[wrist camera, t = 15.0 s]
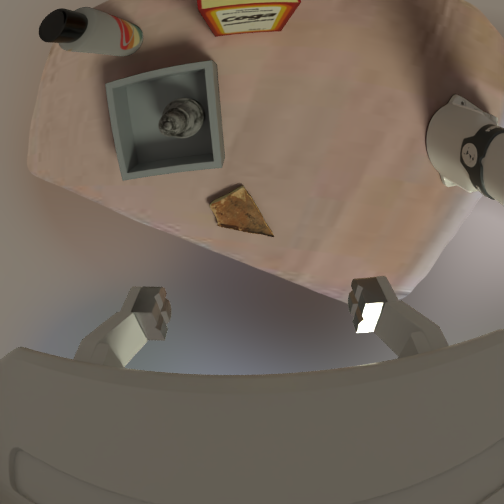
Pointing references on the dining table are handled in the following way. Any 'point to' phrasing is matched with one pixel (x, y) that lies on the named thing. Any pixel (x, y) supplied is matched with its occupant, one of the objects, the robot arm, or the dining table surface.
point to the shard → (239, 213)
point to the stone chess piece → (181, 118)
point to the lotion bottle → (91, 32)
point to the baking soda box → (246, 15)
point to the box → (150, 111)
